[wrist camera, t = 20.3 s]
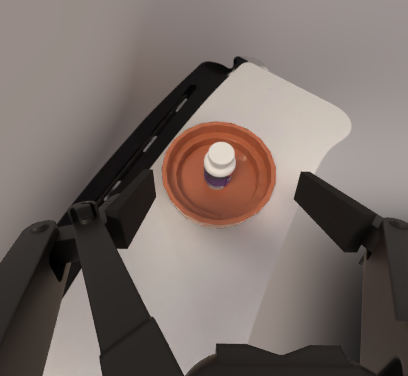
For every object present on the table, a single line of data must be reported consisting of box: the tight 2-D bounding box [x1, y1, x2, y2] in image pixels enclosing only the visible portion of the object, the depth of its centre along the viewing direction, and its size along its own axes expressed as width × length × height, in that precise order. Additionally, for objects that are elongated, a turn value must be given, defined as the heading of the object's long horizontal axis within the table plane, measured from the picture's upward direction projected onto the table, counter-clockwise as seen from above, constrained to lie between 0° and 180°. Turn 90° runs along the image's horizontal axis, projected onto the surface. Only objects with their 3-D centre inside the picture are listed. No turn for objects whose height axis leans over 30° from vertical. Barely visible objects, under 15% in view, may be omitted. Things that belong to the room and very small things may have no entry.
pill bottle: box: [204, 142, 236, 190], centre depth 26 cm, size 5×5×8 cm
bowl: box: [162, 122, 276, 229], centre depth 29 cm, size 17×17×4 cm
